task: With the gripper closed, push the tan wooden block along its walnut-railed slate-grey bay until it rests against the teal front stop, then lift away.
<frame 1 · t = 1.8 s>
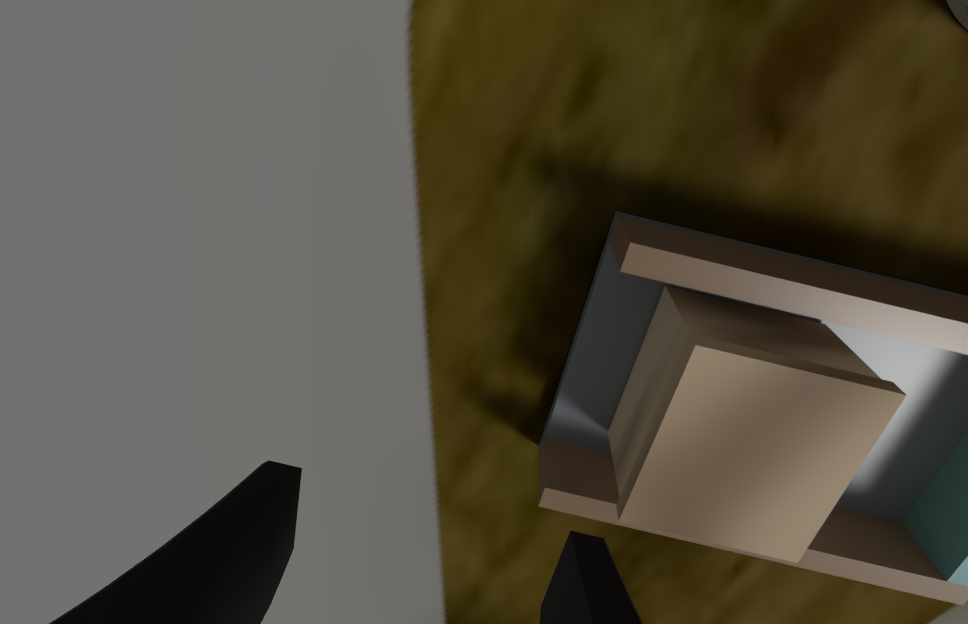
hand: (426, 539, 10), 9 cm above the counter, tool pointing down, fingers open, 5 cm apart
bay: (777, 389, 19), on the counter
tan wooden block: (728, 418, 17), point 3 cm above the counter, slide at 0.0 cm
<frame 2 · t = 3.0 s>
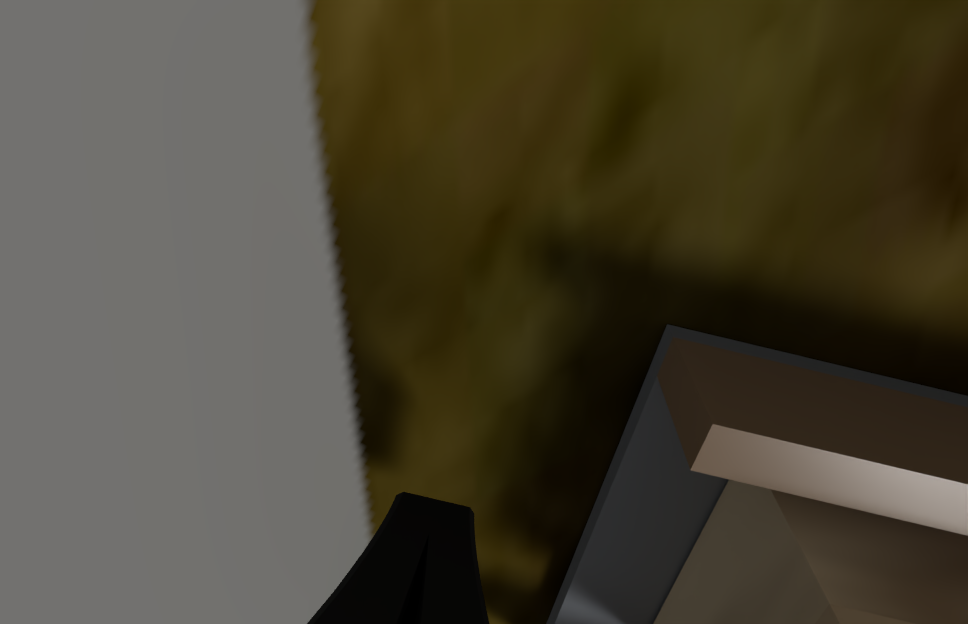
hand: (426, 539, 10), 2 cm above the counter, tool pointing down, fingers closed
bay: (910, 583, 12), on the counter
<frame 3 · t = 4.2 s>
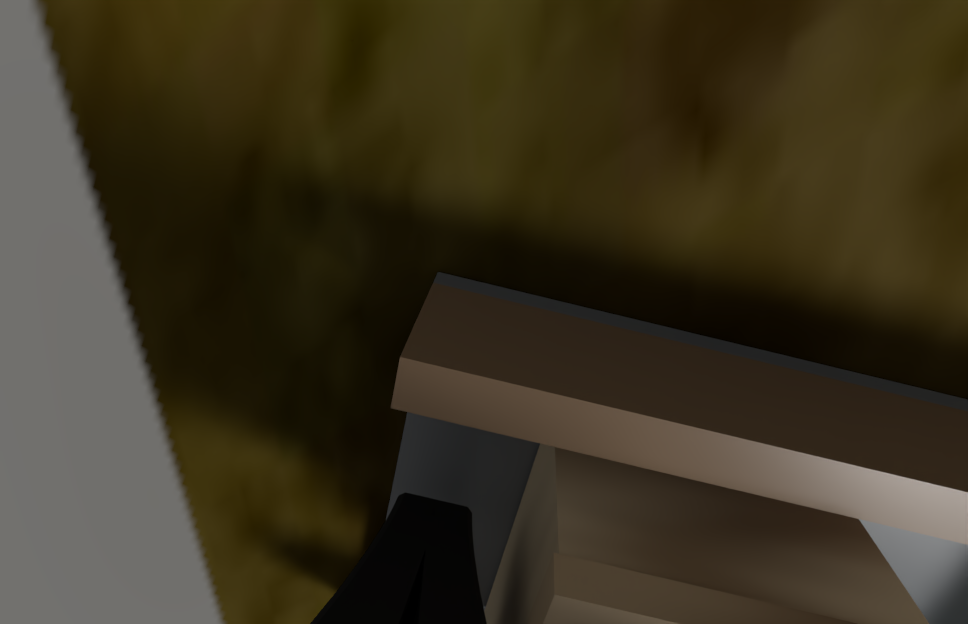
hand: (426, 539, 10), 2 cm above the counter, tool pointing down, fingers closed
bay: (725, 546, 12), on the counter
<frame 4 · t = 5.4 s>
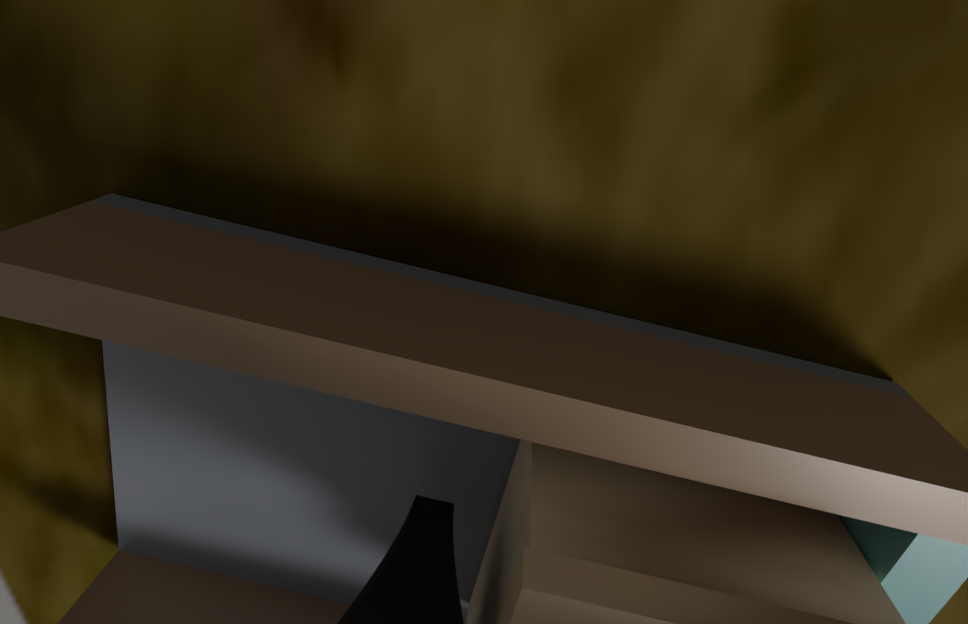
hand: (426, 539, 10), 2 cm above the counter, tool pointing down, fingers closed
bay: (456, 483, 12), on the counter
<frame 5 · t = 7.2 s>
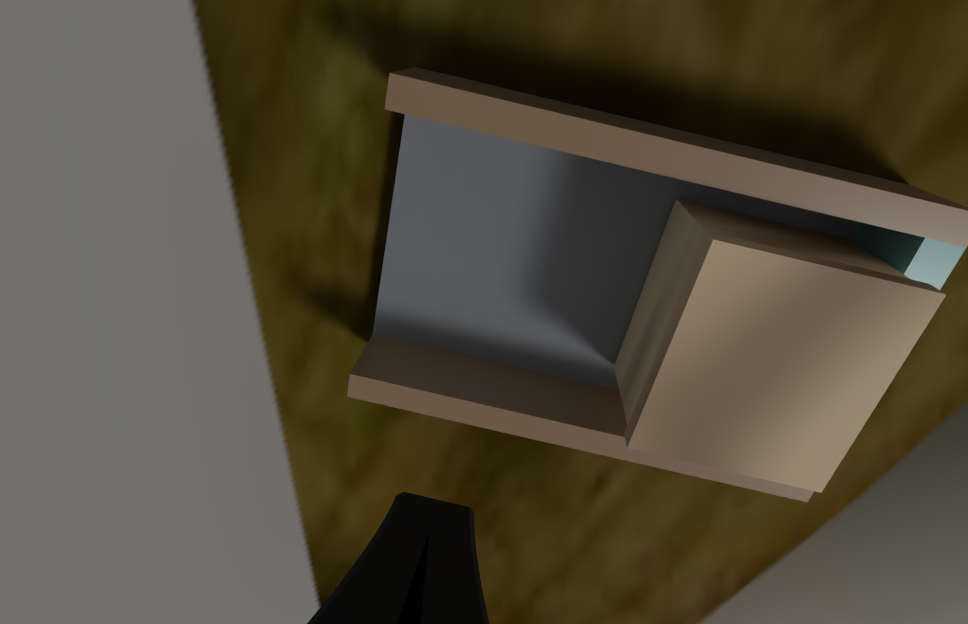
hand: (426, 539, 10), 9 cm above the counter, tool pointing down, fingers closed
bay: (613, 274, 18), on the counter
tan wooden block: (745, 338, 15), point 3 cm above the counter, slide at 5.8 cm
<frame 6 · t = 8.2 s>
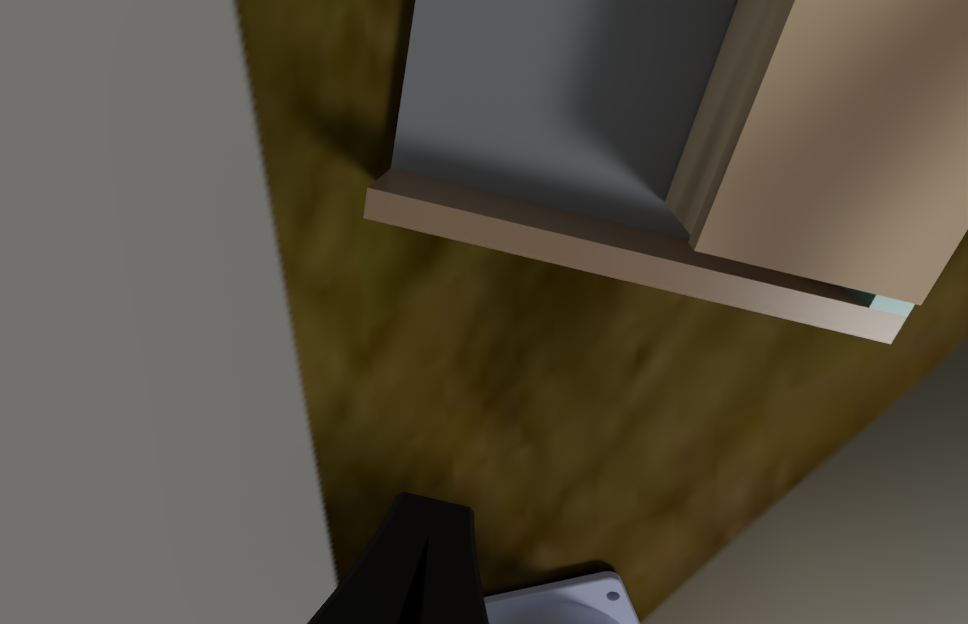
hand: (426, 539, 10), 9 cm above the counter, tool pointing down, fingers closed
bay: (666, 90, 16), on the counter
tan wooden block: (828, 132, 13), point 3 cm above the counter, slide at 5.8 cm
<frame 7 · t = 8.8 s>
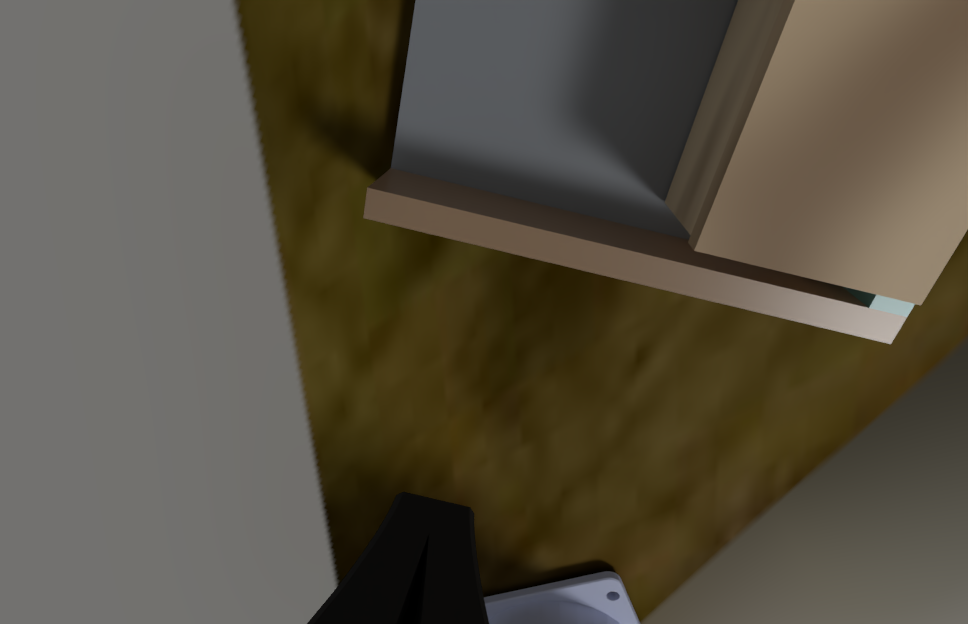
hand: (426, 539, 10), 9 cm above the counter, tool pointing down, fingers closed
bay: (666, 90, 16), on the counter
tan wooden block: (828, 132, 13), point 3 cm above the counter, slide at 5.8 cm
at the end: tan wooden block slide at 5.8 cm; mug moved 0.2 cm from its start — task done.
